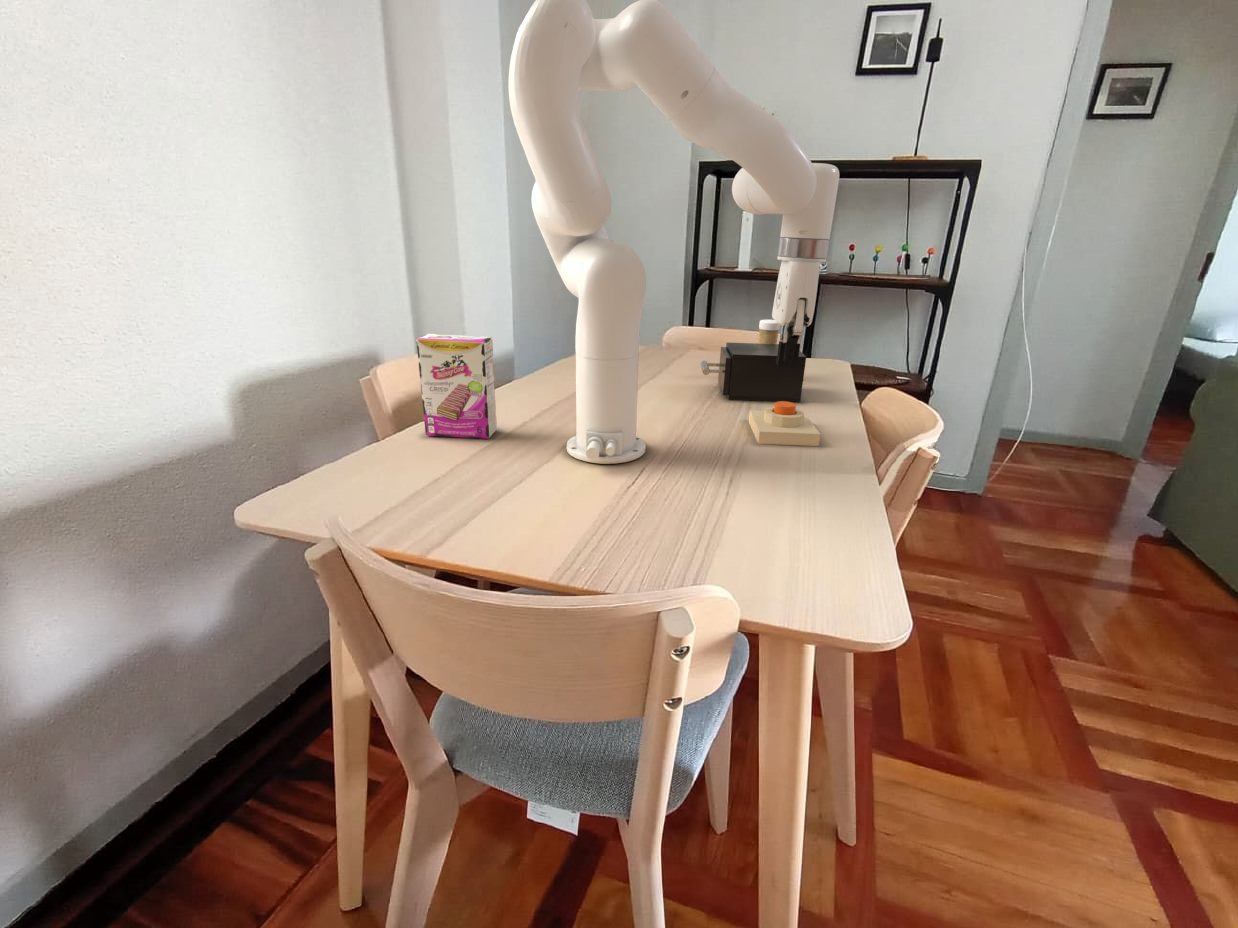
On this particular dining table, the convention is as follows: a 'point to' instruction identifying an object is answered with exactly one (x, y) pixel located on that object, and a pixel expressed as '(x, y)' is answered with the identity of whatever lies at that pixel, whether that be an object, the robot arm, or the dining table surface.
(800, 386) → the black drawer cabinet
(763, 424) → the cream button base
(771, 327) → the sprinkles bottle
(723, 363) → the drawer with knob
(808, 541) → the dining table surface
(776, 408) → the button
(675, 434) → the dining table surface
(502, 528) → the dining table surface
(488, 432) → the candy bar box
